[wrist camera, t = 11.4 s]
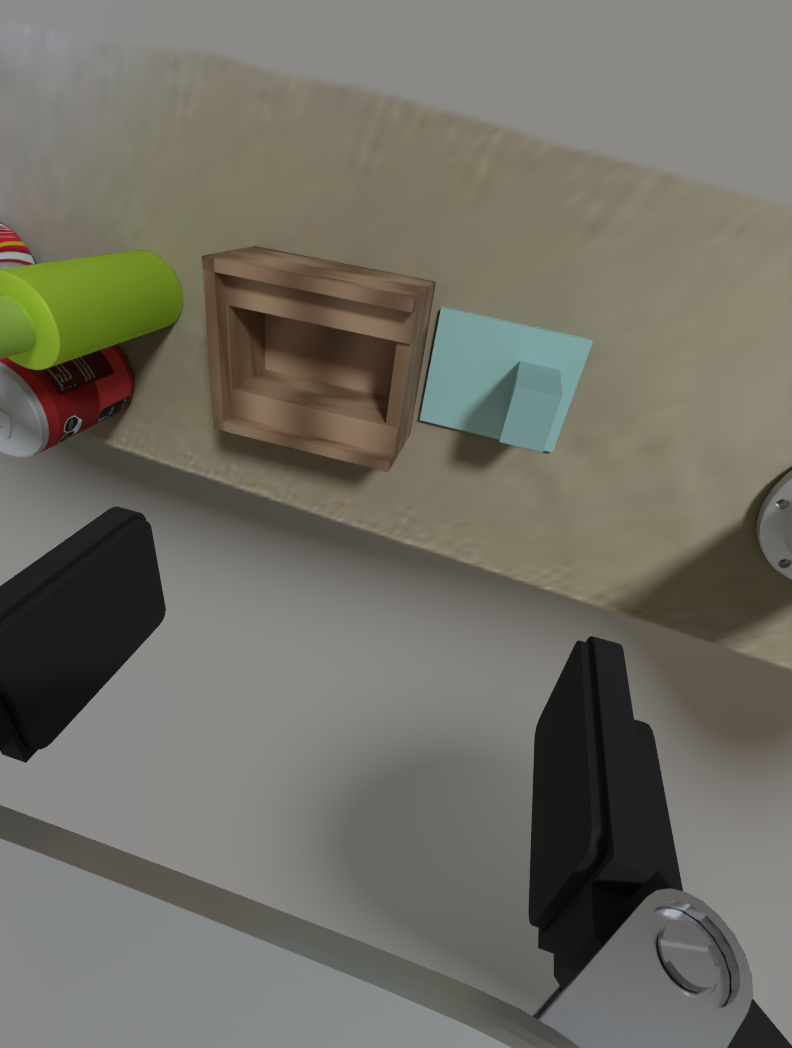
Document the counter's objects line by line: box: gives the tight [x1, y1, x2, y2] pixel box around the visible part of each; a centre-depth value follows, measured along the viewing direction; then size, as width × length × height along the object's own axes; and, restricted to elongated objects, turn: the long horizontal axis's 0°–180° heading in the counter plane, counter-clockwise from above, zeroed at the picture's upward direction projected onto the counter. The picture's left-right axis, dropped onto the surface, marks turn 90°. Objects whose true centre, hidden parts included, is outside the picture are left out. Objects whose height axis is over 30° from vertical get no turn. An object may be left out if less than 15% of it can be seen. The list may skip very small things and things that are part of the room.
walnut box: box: [202, 246, 436, 472], centre depth 38 cm, size 14×12×7 cm
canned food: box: [0, 345, 134, 458], centre depth 43 cm, size 8×8×11 cm
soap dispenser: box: [0, 250, 183, 370], centre depth 34 cm, size 6×7×20 cm
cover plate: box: [420, 307, 593, 453], centre depth 37 cm, size 11×9×7 cm
